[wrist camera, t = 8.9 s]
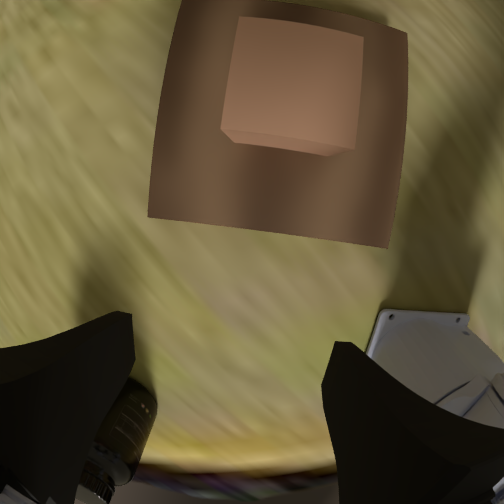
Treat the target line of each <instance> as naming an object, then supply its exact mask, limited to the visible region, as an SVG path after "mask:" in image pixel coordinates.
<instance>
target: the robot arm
mask: <svg viewBox="0 0 504 504" xmlns="http://www.w3.org/2000/svg"><path fill="white" fill-rule="evenodd" d="M391 314H393V316H392V317H391V318H389V316H390V315H391ZM457 318H458V319H457ZM456 319H457V320H456ZM469 319H470V317H469V315H468V314H466V313H444V312H426V311H410V310H396V309H383V310H381V312H380V313H379V315H378V318H377V322H376V325H375V328H374V331H373V334H372V337H371V340H370V343H369V346H368V349H367V351H366V354H365V353H364V352H363V351H362V350H361V349H359V348H358V347H357V346H356V345H354V344H353V343H352V342H339V341H335V343H334V346H333V350H332V353H331V356H330V360H329V363H328V366H327V369H326V372H325V375H324V378H323V381H322V384H321V388H322V400H323V408H324V413H325V417H326V421H327V425H328V430H329V434H330V438H331V442H332V446H333V450H334V454H335V459H336V465H337V474H338V485H339V503H340V504H504V363H503V362H502V360H501V359H500V358H499V356H498V355H496V354H495V353H494V352H493V351H492V350H491V349H490V348H489V347H488V346H487V345H486V344H485V343H484V342H483V341H482V340H481V339H480V338H479V337H478V336H477V335H476V334H474V333H473V332H472V331H471V330H470V329H469V328H468V327H467V325H468V322H469ZM135 360H136V359H135V349H134V338H133V325H132V314H130V313H125V312H120V311H115V312H111V313H109V314H106V315H104V316H101V317H99V318H96V319H94V320H92V321H89V322H87V323H85V324H82V325H80V326H78V327H75V328H73V329H70V330H68V331H65V332H62V333H60V334H57V335H54V336H52V337H49V338H46V339H42V340H39V341H35V342H31V343H28V344H23V345H18V346H12V347H6V348H0V504H74V501H75V496H76V492H77V488H78V484H79V481H80V477H81V474H82V470H83V467H84V464H85V461H86V459H87V456H88V453H89V450H90V448H91V445H92V443H93V440H94V438H95V435H96V433H97V431H98V429H99V427H100V425H101V423H102V421H103V420H104V418H105V416H106V415H107V413H108V411H109V410H110V408H111V406H112V405H113V403H114V401H115V400H116V398H117V396H118V395H119V393H120V391H121V390H122V388H123V386H124V384H125V383H126V381H127V379H128V377H129V374H130V372H131V370H132V367H133V365H134V362H135Z"/></svg>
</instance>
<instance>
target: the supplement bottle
mask: <svg viewBox="0 0 504 504" xmlns="http://www.w3.org/2000/svg"><path fill="white" fill-rule="evenodd" d="M156 415H157V406H156V403H155V400H154V398H153V397H152V395H151V394H150V393H149V391H148V390H147V389H146V388H145V387H143V386H142V385H141V384H140V383H138V382H137V381H135V380H133V379H131V378H129V377H128V379H127V381H126V383H125V384H124V386H123V388H122V390H121V391H120V393H119V395H118V396H117V398H116V400H115V401H114V403H113V405H112V406H111V408H110V410H109V411H108V413H107V415H106V416H105V418H104V420H103V421H102V423H101V425H100V427H99V429H98V431H97V433H96V435H95V438H94V440H93V443H92V445H91V448H90V450H89V453H88V456H87V459H86V461H85V464H84V467H83V470H82V474H81V477H80V481H79V484H78V488H77V492H76V496H75V498H76V499H78V500H80V501H82V502H84V503H86V504H109V503H110V501H111V498H112V496H113V495H114V493H115V487H114V486H122V485H125V484H127V483H129V482H130V481H131V480H132V479H133V477H134V475H135V472H136V469H137V467H138V464H139V461H140V459H141V456H142V453H143V450H144V448H145V445H146V442H147V440H148V437H149V434H150V432H151V429H152V427H153V424H154V421H155V418H156Z"/></svg>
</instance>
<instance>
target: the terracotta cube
mask: <svg viewBox="0 0 504 504" xmlns="http://www.w3.org/2000/svg"><path fill="white" fill-rule="evenodd" d="M363 42H364V37H361V36H358V35H354V34H350V33H346V32H342V31H338V30H334V29H329V28H325V27H320V26H314V25H309V24H303V23H297V22H291V21H283V20H275V19H266V18H255V17H241V16H239V20H238V25H237V30H236V35H235V41H234V46H233V52H232V58H231V63H230V69H229V75H228V82H227V88H226V94H225V101H224V107H223V114H222V121H221V128H220V129H221V130H222V131H223V132H224V133H225V134H226V135H227V136H228V137H229V138H230V139H231V140H232V141H233V142H234V143H243V144H251V145H259V146H267V147H274V148H281V149H288V150H294V151H300V152H306V153H312V154H317V155H323V156H331V155H335V154H339V153H343V152H347V151H352V150H355V144H356V135H357V126H358V117H359V106H360V95H361V81H362V65H363Z"/></svg>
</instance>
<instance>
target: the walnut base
mask: <svg viewBox="0 0 504 504" xmlns="http://www.w3.org/2000/svg"><path fill="white" fill-rule="evenodd" d="M239 16H241V17H255V18H266V19H275V20H283V21H291V22H297V23H303V24H309V25H314V26H320V27H325V28H329V29H334V30H338V31H342V32H346V33H350V34H354V35H358V36H361V37H364V42H363V65H362V81H361V95H360V106H359V117H358V126H357V135H356V144H355V150H352V151H347V152H343V153H339V154H335V155H331V156H323V155H317V154H312V153H306V152H300V151H294V150H288V149H281V148H274V147H267V146H259V145H251V144H243V143H234V142H233V141H232V140H231V139H230V138H229V137H228V136H227V135H226V134H225V133H224V132H223V131H222V130H221V129H220V128H221V121H222V114H223V107H224V101H225V94H226V88H227V82H228V75H229V69H230V63H231V58H232V52H233V46H234V41H235V35H236V30H237V25H238V20H239ZM407 100H408V40H407V33H406V32H403V31H400V30H398V29H395V28H392V27H389V26H386V25H383V24H380V23H377V22H374V21H370V20H367V19H363V18H360V17H356V16H352V15H348V14H344V13H340V12H336V11H331V10H326V9H321V8H316V7H311V6H305V5H298V4H292V3H284V2H275V1H265V0H182V2H181V6H180V9H179V13H178V17H177V21H176V24H175V28H174V33H173V37H172V41H171V46H170V50H169V55H168V59H167V64H166V69H165V75H164V80H163V85H162V91H161V97H160V103H159V110H158V116H157V123H156V131H155V139H154V147H153V156H152V166H151V176H150V188H149V202H148V217H149V218H159V219H168V220H177V221H185V222H194V223H203V224H211V225H219V226H227V227H235V228H243V229H251V230H259V231H267V232H274V233H282V234H289V235H297V236H304V237H311V238H318V239H326V240H333V241H339V242H346V243H353V244H360V245H367V246H373V247H380V248H386V249H388V245H389V241H390V236H391V231H392V226H393V221H394V215H395V210H396V204H397V198H398V191H399V185H400V178H401V170H402V162H403V153H404V143H405V132H406V119H407Z"/></svg>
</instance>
